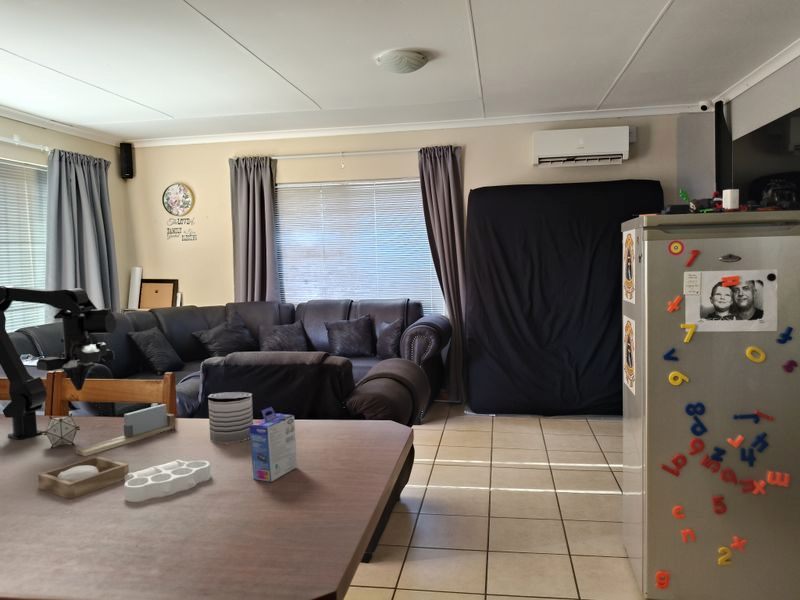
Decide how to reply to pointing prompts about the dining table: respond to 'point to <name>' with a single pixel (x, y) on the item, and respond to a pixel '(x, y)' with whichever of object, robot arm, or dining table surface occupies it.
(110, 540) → the dining table surface
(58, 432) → the game die
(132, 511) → the dining table surface
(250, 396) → the can
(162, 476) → the white brass knuckles
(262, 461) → the ink cartridge box
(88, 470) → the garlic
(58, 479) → the garlic tray
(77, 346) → the robot arm
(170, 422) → the rail
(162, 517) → the dining table surface
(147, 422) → the panel
